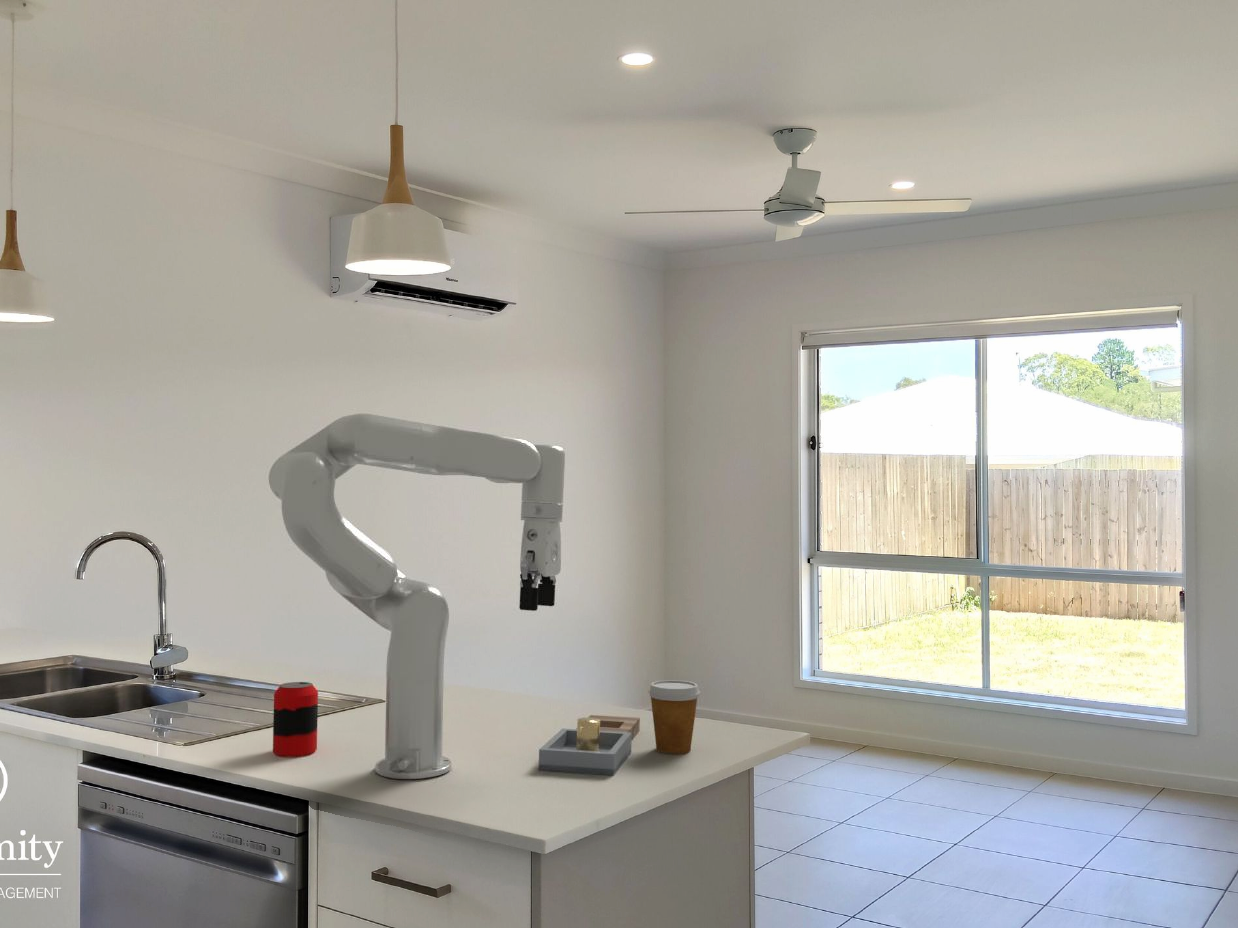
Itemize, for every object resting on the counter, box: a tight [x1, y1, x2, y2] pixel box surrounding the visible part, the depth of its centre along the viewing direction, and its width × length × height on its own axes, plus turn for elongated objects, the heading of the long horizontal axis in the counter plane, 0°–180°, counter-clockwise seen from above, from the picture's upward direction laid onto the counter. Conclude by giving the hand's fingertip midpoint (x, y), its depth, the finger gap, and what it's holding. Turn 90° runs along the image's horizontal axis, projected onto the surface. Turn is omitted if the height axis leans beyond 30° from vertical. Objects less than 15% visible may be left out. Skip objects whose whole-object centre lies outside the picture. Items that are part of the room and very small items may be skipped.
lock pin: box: [576, 717, 600, 752], centre depth 184 cm, size 4×4×6 cm
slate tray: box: [538, 728, 633, 776], centre depth 183 cm, size 16×13×4 cm
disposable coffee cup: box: [647, 679, 701, 755], centre depth 192 cm, size 10×10×12 cm
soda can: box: [272, 681, 319, 758], centre depth 187 cm, size 8×8×12 cm
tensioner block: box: [575, 714, 641, 741], centre depth 201 cm, size 14×10×2 cm
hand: (537, 607), depth 188 cm, fingers open, 9 cm apart
